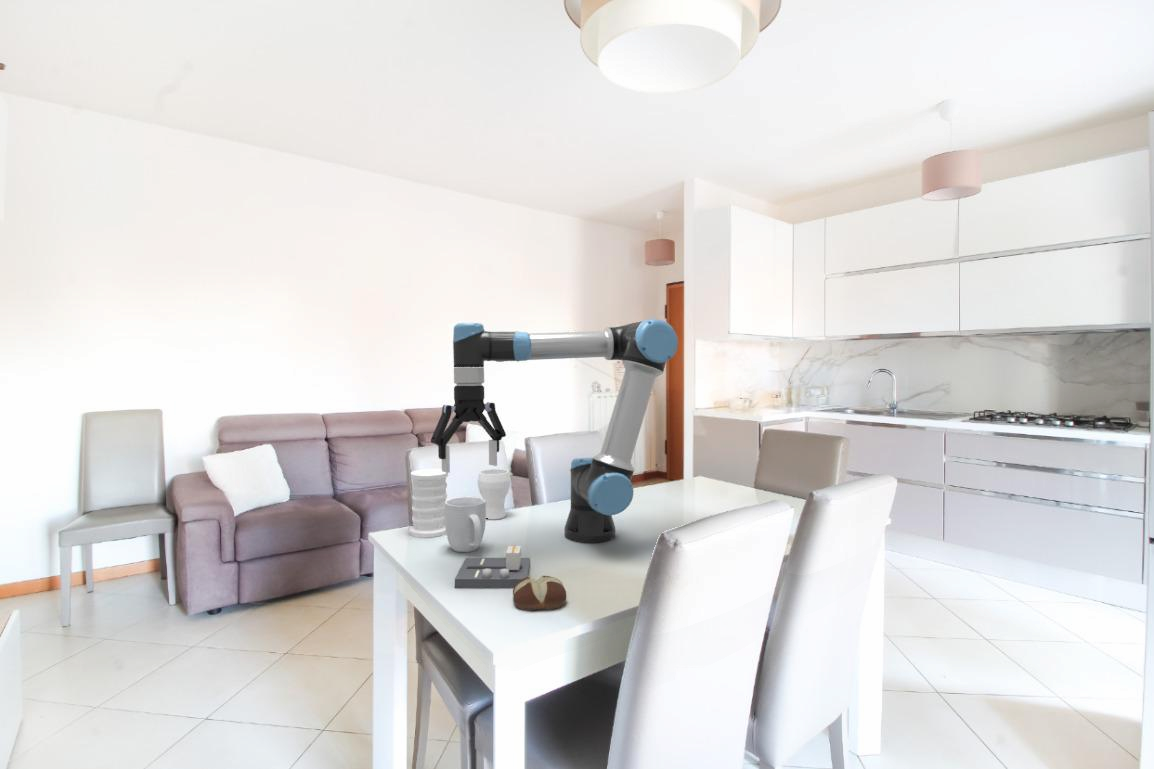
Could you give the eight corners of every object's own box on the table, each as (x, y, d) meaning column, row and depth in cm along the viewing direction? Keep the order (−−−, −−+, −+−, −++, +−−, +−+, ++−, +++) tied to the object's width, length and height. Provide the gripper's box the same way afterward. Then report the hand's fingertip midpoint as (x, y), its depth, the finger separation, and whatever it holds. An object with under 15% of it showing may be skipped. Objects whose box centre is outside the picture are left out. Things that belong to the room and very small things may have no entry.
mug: (498, 554, 146) (498, 505, 145) (458, 562, 140) (458, 511, 139) (476, 539, 158) (476, 494, 158) (438, 546, 152) (438, 499, 152)
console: (530, 565, 138) (530, 551, 138) (526, 588, 124) (526, 572, 124) (466, 565, 138) (466, 551, 138) (454, 587, 124) (454, 572, 124)
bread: (567, 611, 113) (567, 587, 113) (511, 613, 112) (511, 588, 112) (564, 589, 124) (564, 567, 124) (513, 591, 123) (513, 568, 123)
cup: (473, 520, 178) (473, 473, 178) (483, 511, 189) (484, 468, 188) (504, 521, 177) (504, 475, 176) (513, 513, 187) (514, 469, 187)
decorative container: (418, 540, 157) (418, 477, 157) (403, 530, 166) (403, 471, 166) (456, 532, 164) (456, 472, 164) (439, 524, 174) (439, 467, 173)
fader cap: (520, 562, 133) (520, 545, 133) (518, 570, 128) (519, 552, 128) (508, 562, 133) (508, 545, 133) (506, 570, 128) (506, 552, 128)
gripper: (502, 383, 150) (503, 460, 151) (415, 385, 134) (417, 472, 134) (518, 383, 144) (519, 464, 145) (430, 386, 128) (431, 477, 129)
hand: (470, 468), depth 140 cm, fingers open, 13 cm apart
